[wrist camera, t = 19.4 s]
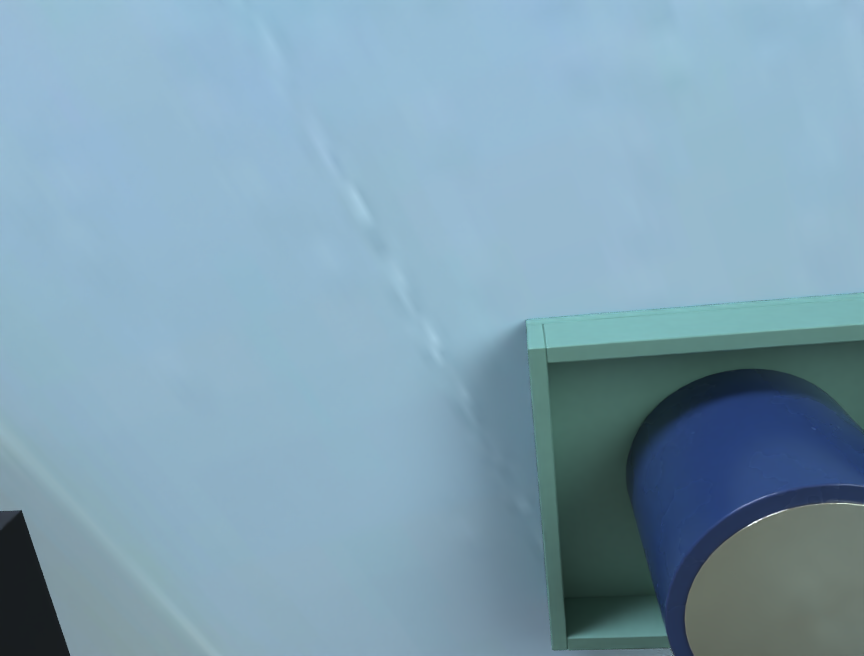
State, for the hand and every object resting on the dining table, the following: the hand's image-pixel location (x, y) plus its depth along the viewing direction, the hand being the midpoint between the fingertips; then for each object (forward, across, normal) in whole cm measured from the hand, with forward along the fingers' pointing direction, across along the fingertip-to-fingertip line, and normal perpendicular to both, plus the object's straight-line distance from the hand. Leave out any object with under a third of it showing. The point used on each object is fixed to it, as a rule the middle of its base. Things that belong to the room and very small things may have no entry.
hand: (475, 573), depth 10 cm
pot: (+19, +11, -19) cm, 29 cm away
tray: (+25, +11, -13) cm, 31 cm away
